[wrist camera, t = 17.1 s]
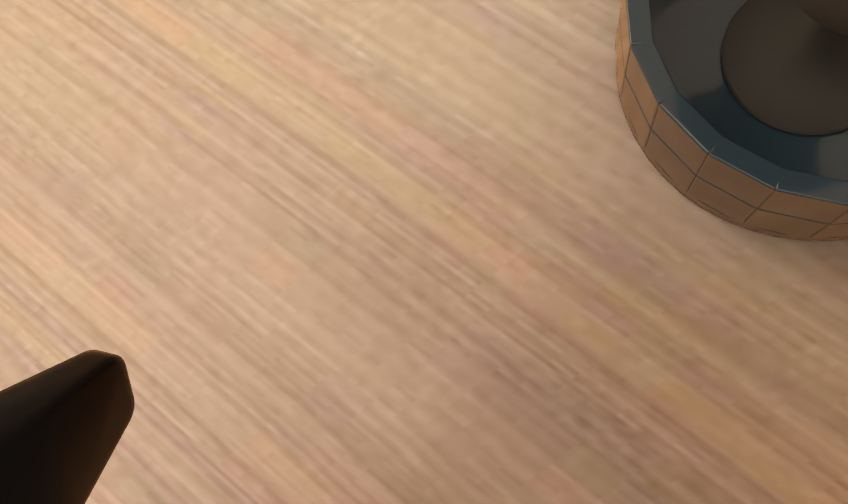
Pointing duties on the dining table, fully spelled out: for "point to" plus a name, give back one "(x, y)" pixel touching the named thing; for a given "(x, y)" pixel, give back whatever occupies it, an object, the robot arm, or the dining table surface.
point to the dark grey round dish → (722, 127)
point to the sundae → (790, 63)
